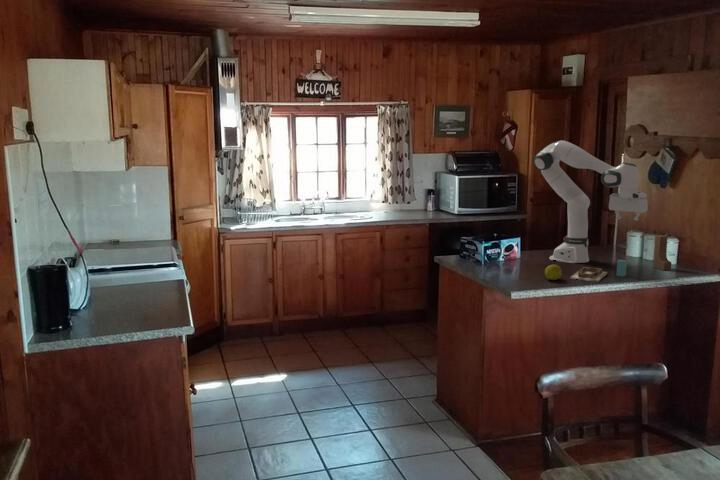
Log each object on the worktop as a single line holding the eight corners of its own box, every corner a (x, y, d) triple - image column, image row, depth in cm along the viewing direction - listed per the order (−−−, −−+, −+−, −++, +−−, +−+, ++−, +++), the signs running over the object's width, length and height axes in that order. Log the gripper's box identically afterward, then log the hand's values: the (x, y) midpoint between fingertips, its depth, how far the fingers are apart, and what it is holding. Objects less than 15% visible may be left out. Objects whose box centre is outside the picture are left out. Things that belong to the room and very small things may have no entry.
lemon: (551, 282, 320) (552, 267, 318) (540, 279, 326) (540, 264, 325) (566, 279, 325) (567, 264, 324) (555, 276, 332) (555, 262, 330)
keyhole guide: (570, 278, 327) (570, 273, 326) (580, 271, 343) (580, 265, 343) (598, 281, 319) (598, 276, 319) (607, 273, 336) (607, 268, 335)
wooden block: (671, 270, 340) (673, 237, 337) (664, 270, 339) (666, 238, 336) (660, 266, 349) (662, 234, 346) (653, 267, 348) (655, 235, 345)
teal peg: (616, 275, 331) (617, 261, 330) (617, 274, 334) (618, 259, 333) (624, 276, 329) (625, 261, 328) (625, 275, 332) (626, 260, 331)
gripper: (606, 193, 336) (605, 218, 338) (643, 195, 320) (642, 222, 322) (613, 192, 340) (612, 217, 342) (649, 194, 324) (648, 220, 326)
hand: (627, 219), depth 332 cm, fingers open, 8 cm apart
